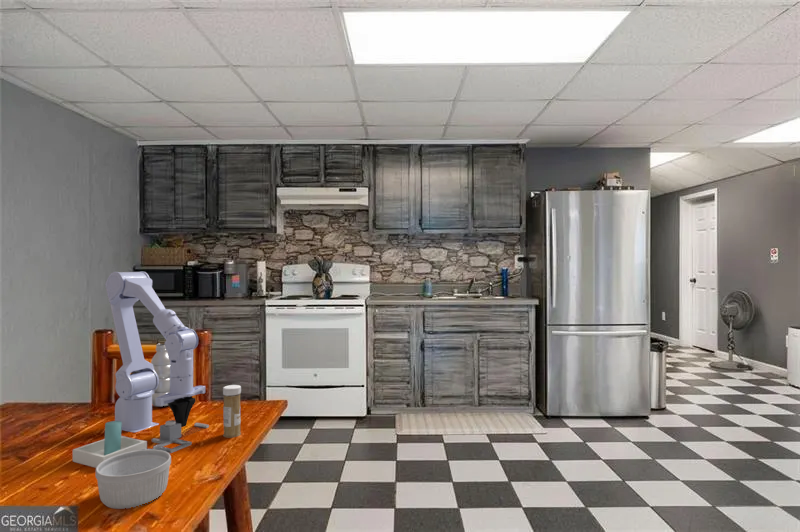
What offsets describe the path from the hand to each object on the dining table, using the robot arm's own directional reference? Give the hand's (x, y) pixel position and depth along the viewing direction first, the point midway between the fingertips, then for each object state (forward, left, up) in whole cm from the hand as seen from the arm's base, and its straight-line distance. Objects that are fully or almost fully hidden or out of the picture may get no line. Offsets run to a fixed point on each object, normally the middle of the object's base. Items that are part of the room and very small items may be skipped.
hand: (181, 425), depth 132 cm
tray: (-3, -18, -3) cm, 18 cm away
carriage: (0, -3, -2) cm, 4 cm away
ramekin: (+20, -29, -3) cm, 35 cm away
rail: (0, 0, -3) cm, 3 cm away
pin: (-3, -17, -2) cm, 18 cm away
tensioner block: (+6, -12, -3) cm, 13 cm away
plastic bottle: (-28, +17, -3) cm, 33 cm away
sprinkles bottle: (+13, +5, -3) cm, 14 cm away
